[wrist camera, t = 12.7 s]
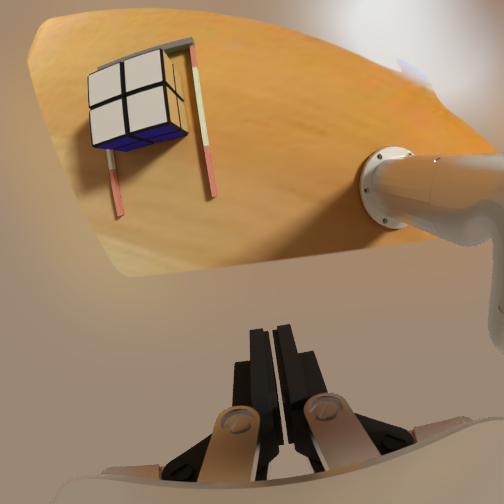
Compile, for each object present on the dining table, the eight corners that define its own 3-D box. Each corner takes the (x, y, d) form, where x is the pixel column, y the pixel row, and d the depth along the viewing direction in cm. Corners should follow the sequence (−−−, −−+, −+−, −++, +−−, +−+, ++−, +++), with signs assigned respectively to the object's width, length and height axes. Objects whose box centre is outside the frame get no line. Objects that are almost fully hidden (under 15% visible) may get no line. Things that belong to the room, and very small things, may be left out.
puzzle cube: (125, 152, 36) (91, 148, 26) (118, 92, 33) (86, 74, 23) (189, 135, 36) (170, 123, 26) (180, 72, 33) (161, 46, 23)
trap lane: (194, 42, 31) (191, 37, 29) (217, 195, 38) (215, 196, 36) (103, 71, 32) (97, 67, 30) (121, 215, 38) (115, 217, 36)
